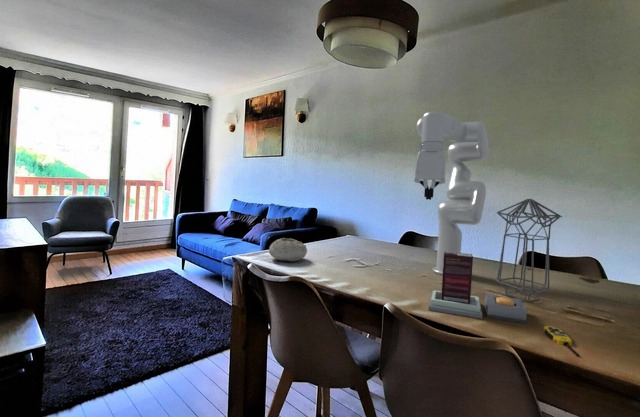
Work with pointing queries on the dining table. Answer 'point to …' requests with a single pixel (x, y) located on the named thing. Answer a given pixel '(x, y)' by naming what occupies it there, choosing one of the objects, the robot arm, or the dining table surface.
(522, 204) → the geometric lantern
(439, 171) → the robot arm
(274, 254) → the grey rounded lump
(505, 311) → the button housing
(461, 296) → the supplement box
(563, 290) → the dining table surface
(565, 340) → the yellow black handheld tool
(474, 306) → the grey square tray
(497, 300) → the button
